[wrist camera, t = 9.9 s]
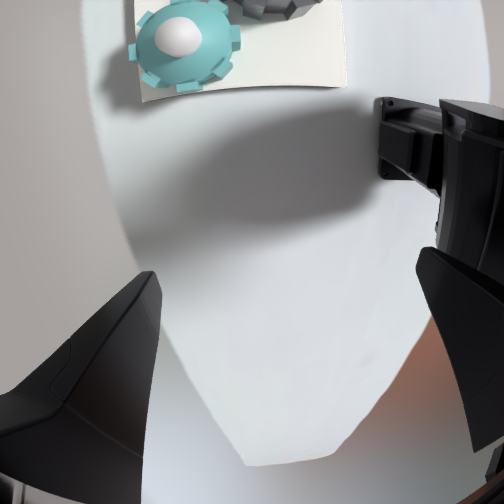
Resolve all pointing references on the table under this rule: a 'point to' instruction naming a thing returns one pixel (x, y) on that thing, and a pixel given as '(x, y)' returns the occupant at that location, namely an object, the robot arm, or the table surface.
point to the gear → (276, 7)
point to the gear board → (234, 47)
